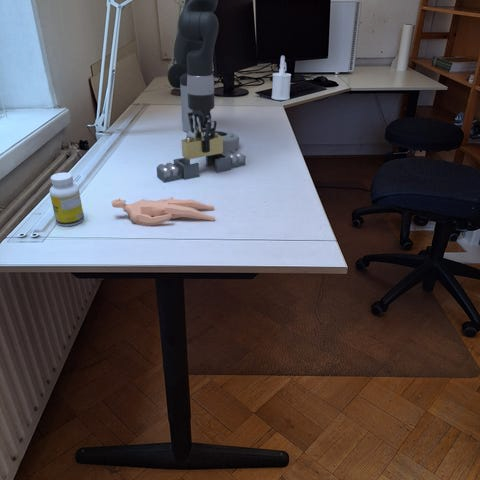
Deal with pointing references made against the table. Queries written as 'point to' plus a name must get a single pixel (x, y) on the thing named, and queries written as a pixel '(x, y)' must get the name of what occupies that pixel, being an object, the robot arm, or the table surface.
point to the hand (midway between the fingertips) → (202, 150)
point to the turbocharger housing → (224, 140)
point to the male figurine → (162, 210)
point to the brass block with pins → (194, 147)
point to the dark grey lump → (176, 77)
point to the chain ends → (187, 170)
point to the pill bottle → (66, 200)
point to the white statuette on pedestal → (281, 83)
